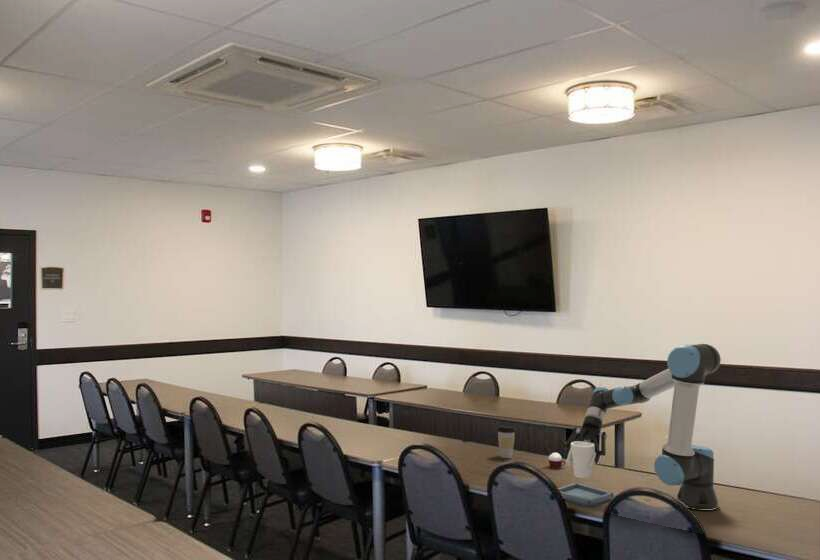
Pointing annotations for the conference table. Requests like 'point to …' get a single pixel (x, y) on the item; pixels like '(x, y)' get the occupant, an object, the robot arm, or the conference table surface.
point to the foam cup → (582, 458)
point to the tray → (585, 495)
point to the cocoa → (554, 458)
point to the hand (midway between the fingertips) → (579, 466)
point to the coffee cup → (506, 440)
